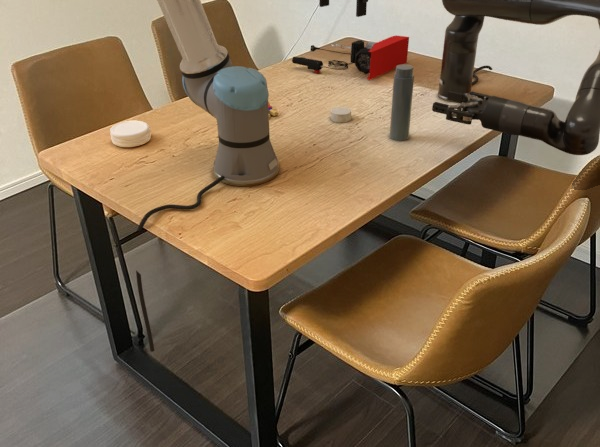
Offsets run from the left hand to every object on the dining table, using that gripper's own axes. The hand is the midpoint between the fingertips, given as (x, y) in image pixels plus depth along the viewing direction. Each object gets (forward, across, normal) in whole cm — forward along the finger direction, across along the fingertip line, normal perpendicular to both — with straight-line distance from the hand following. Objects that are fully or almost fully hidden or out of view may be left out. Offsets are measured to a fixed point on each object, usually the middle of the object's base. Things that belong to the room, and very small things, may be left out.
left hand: (342, 10), depth 156 cm
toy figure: (+29, -19, -14) cm, 37 cm away
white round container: (+29, -25, -50) cm, 63 cm away
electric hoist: (+29, -32, +34) cm, 55 cm away
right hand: (+17, +29, +6) cm, 34 cm away
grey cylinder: (+29, +19, +4) cm, 35 cm away
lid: (+27, 0, 0) cm, 27 cm away
